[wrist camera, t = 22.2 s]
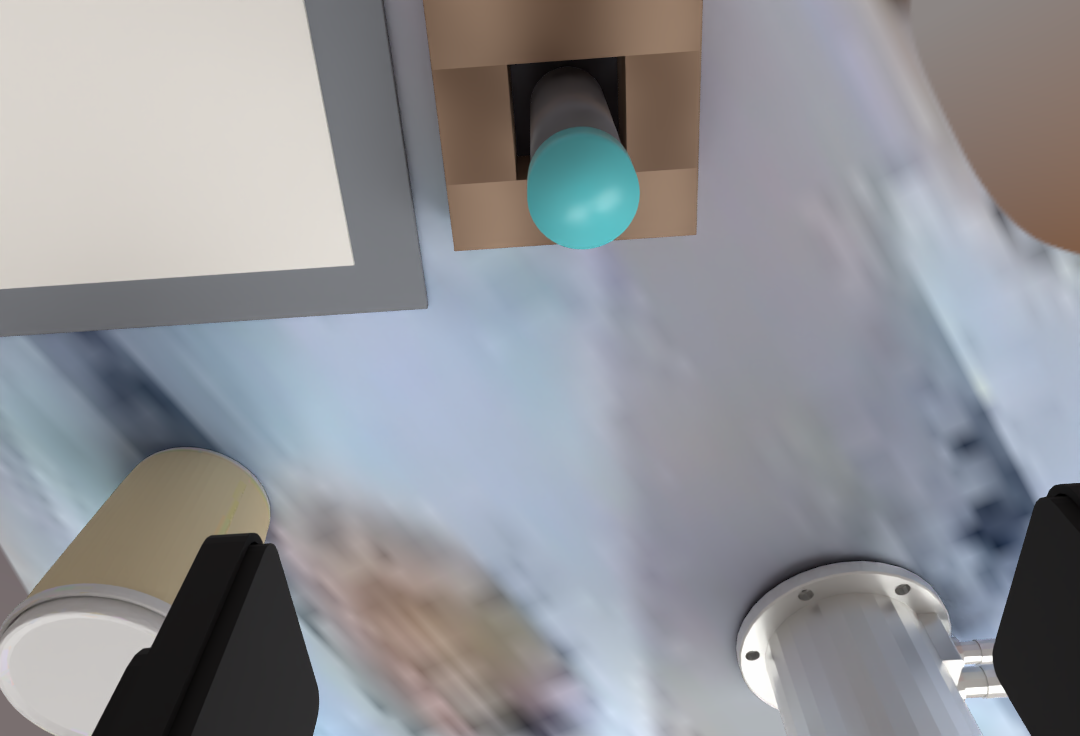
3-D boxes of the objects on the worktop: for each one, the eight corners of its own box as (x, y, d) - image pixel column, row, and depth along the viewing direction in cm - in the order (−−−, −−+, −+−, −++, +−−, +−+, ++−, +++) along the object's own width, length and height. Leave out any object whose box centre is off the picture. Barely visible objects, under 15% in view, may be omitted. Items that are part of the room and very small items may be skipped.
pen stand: (687, -41, 32) (703, -34, 29) (682, 206, 37) (696, 234, 34) (431, -22, 33) (421, -13, 30) (460, 221, 38) (454, 251, 35)
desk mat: (362, -137, 31) (361, -137, 30) (428, 304, 40) (427, 308, 39) (-273, -87, 31) (-282, -87, 31) (-67, 337, 40) (-72, 341, 40)
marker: (602, 54, 34) (639, 135, 23) (604, 132, 36) (640, 245, 24) (524, 60, 34) (522, 144, 23) (530, 138, 36) (531, 252, 25)
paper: (293, -54, 32) (292, -54, 32) (354, 263, 38) (354, 265, 38) (-170, -19, 32) (-174, -18, 32) (-32, 289, 39) (-35, 291, 38)
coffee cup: (149, 575, 48) (43, 765, 38) (82, 443, 43) (-58, 618, 33) (307, 558, 48) (244, 745, 37) (257, 422, 43) (169, 593, 33)
